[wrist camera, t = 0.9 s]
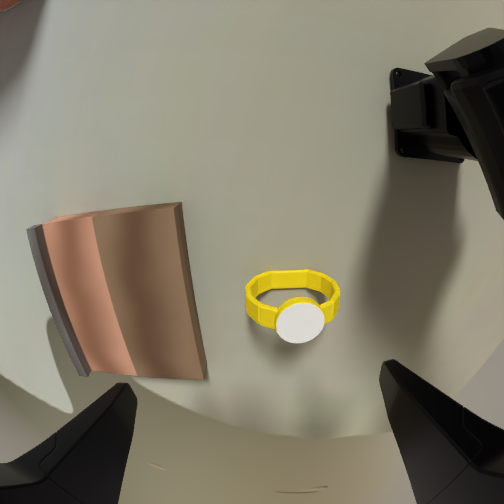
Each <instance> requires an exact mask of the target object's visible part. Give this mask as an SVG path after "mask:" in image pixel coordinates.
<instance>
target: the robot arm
mask: <svg viewBox="0 0 504 504" xmlns="http://www.w3.org/2000/svg"><path fill="white" fill-rule="evenodd" d="M424 64H425V65H426V67H427V68H428V70H429V71H430V72H432V73H433V74H434V75H433V76H432V75H428V74H424V73H419V72H415V71H411V70H406V69H401V68H395V69H393V70H391V73H390V75H391V84H392V92H391V93H390V95H391V108H392V125H393V127H394V129H395V151H396V153H397V155H398V156H401V157H411V158H422V159H431V160H440V161H448V162H456V163H462V162H463V161H464V159H469V160H475V161H478V162H479V164H480V167H481V169H482V171H483V174H484V177H485V179H486V182H487V185H488V187H489V190H490V193H491V196H492V199H493V202H494V205H495V208H496V211H497V212H498V213H499V215H500V216H501V217H502V218H503V220H504V30H501V29H495V28H487V29H484V30H482V31H479V32H477V33H474V34H472V35H469V36H467V37H465V38H463V39H461V40H460V41H458V42H457V43H455V44H453V45H452V46H450V47H449V48H447V49H446V50H444V51H442V52H441V53H439V54H438V55H436V56H435V57H433V58H432V59H430V60H429V61H427V62H426V63H424ZM396 72H397V73H398V74H399V76H400V77H397V76H396ZM401 147H403V148H404V152H403V153H402V152H401ZM379 382H380V387H381V391H382V395H383V399H384V403H385V407H386V411H387V415H388V419H389V422H390V425H391V427H392V430H393V433H394V436H395V438H396V441H397V444H398V447H399V449H400V453H401V455H402V458H403V461H404V464H405V467H406V470H407V473H408V476H409V480H410V482H411V486H412V489H413V492H414V496H415V499H416V502H417V504H504V430H503V429H501V428H499V427H497V426H495V425H493V424H491V423H489V422H488V421H486V420H484V419H482V418H480V417H479V416H477V415H476V414H474V413H473V412H471V411H470V410H468V409H467V408H465V407H464V408H463V406H462V405H461V404H459V403H457V402H456V401H454V400H453V399H452V398H450V397H449V396H447V395H446V394H444V393H443V392H441V391H440V390H439V389H437V388H436V387H434V386H433V385H431V384H430V383H428V382H427V381H425V380H424V379H422V378H421V377H420V376H418V375H417V374H415V373H414V372H412V371H411V370H409V369H408V368H406V367H405V366H403V365H402V364H401V363H399V362H398V361H396V360H394V359H391V360H387V361H384V362H383V363H382V367H381V372H380V377H379ZM136 410H137V397H136V395H135V394H134V392H133V390H132V388H131V387H130V385H129V384H128V383H117V384H116V385H114V386H113V387H112V388H111V389H110V390H108V391H107V392H106V393H104V394H103V395H102V396H101V397H99V398H98V399H97V400H96V401H95V402H93V403H92V404H91V405H89V406H88V407H87V408H86V409H84V411H82V412H81V413H79V414H78V415H77V416H76V417H74V418H73V419H72V420H71V421H69V422H68V423H67V424H65V425H64V426H63V427H62V428H60V429H59V430H58V431H57V433H54V434H53V435H51V436H50V437H49V438H48V439H46V440H45V441H43V442H42V443H41V444H39V445H38V446H36V447H35V448H33V449H32V450H30V451H28V452H27V453H25V454H23V455H22V456H20V457H19V458H17V459H15V460H13V461H11V462H8V463H0V504H118V501H119V496H120V491H121V486H122V481H123V476H124V472H125V467H126V463H127V459H128V454H129V450H130V446H131V442H132V437H133V432H134V424H135V417H136Z"/></svg>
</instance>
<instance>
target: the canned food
mask: <svg viewBox="0 0 504 504" xmlns="http://www.w3.org/2000/svg"><path fill="white" fill-rule="evenodd" d="M22 1H23V0H0V12H3V11H7V10H9V9H11V8H13V7H15V6H16V5H18V4H19V3H21V2H22Z"/></svg>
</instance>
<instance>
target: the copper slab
mask: <svg viewBox="0 0 504 504" xmlns="http://www.w3.org/2000/svg"><path fill="white" fill-rule="evenodd" d="M26 230H27V235H28V239H29V243H30V247H31V251H32V255H33V259H34V262H35V266H36V269H37V272H38V276H39V279H40V282H41V285H42V288H43V291H44V294H45V297H46V300H47V303H48V305H49V308H50V311H51V314H52V316H53V319H54V321H55V324H56V326H57V329H58V331H59V333H60V336H61V338H62V340H63V342H64V345H65V347H66V349H67V351H68V353H69V355H70V358H71V359H72V362H73V364H74V366H75V368H76V369H77V372H78V374H79V375H80V376H84V377H88V376H89V374H90V372H91V371H92V370H94V371H100V372H107V373H116V374H124V375H133V376H143V377H156V378H171V379H194V380H204V376H205V371H206V366H207V362H206V357H205V352H204V347H203V342H202V337H201V331H200V326H199V321H198V315H197V309H196V303H195V297H194V291H193V285H192V279H191V272H190V265H189V258H188V251H187V244H186V236H185V229H184V221H183V212H182V203H181V202H176V203H166V204H156V205H146V206H137V207H128V208H120V209H112V210H104V211H97V212H89V213H82V214H75V215H69V216H62V217H56V218H54V219H52V220H50V221H48V222H46V223H44V224H40V225H34V226H32V227H30V228H28V229H26Z"/></svg>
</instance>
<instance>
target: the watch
mask: <svg viewBox="0 0 504 504" xmlns="http://www.w3.org/2000/svg"><path fill="white" fill-rule="evenodd" d="M283 288H309V289H312V290H316V291H319V292H321V293H323V294H324V295H325V296H327V297H328V298H329V299H330V300H329V301H327V302H325V303H323V304H320V305H319V304H318V303H317V302H316V301H315V300H313V299H310V298H308V297H296V298H291V299H289V300H287V301H285V302H284V303H283V304H282V305H281V306H280V307H279V308H276V307H272V306H269V305H265V304H262V303H261V302H259V301H258V300H257V299H256V297H257V296H258V295H259V294H261V293H263V292H265V291H268V290H270V289H283ZM245 294H246V308H247V313H248V315H249V316H250V317H251V318H252V319H253V320H255V321H256V322H257V323H258V324H261V325H262V326H265V327H268V328H271V329H275V330H276V332H277V333H278V335H279V336H280V337H281V338H282V339H284V340H285V341H287V342H291V343H304V342H307V341H309V340H312V339H314V338H315V337H316V336H317V335H318V334H319V333H320V332H321V330H322V329H323V326H324V324H326V323H328V322H330V321H331V320H333V318H334V317H335V315H336V313H337V312H338V310H339V301H340V289H339V286H338V284H337V282H336V281H335V280H333V279H332V278H330V277H329V276H327V275H326V274H323V273H320V272H317V271H313V270H309V269H308V270H307V269H305V270H285V271H267V272H264V273H262V274H259V275H257V276H255V277H253V278H252V279H251V281H250V282H249V283H248V284H247V285H246V287H245Z"/></svg>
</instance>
